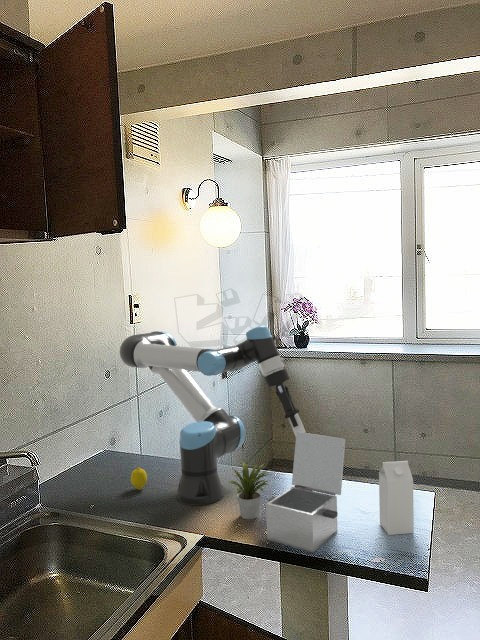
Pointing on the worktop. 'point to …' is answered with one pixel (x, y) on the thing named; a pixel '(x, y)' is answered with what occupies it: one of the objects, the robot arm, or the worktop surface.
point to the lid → (318, 463)
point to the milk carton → (396, 498)
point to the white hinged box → (301, 518)
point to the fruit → (138, 478)
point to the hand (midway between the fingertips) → (301, 435)
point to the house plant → (249, 491)
